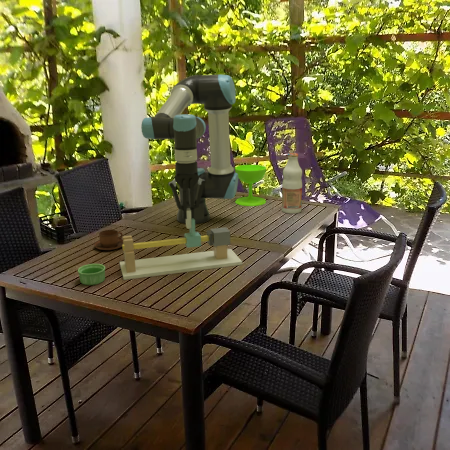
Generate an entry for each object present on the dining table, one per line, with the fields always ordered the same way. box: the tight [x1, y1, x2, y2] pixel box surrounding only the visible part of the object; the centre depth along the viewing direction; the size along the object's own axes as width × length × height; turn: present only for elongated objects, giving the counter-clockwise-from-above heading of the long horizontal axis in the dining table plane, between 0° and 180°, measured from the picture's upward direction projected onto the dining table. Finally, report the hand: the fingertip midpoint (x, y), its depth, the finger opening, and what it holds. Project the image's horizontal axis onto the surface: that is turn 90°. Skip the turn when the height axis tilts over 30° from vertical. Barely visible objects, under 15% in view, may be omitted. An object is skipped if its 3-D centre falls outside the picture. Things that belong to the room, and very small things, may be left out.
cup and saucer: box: [93, 229, 124, 251], centre depth 201 cm, size 12×12×6 cm
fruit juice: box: [281, 152, 303, 215], centre depth 242 cm, size 9×9×28 cm
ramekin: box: [77, 263, 106, 286], centre depth 170 cm, size 9×9×4 cm
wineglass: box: [234, 164, 267, 207], centre depth 261 cm, size 16×16×18 cm
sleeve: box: [184, 218, 202, 249], centre depth 181 cm, size 5×5×10 cm
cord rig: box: [119, 226, 243, 281], centre depth 181 cm, size 14×42×12 cm, turn 106°
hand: (188, 227), depth 180 cm, fingers closed
